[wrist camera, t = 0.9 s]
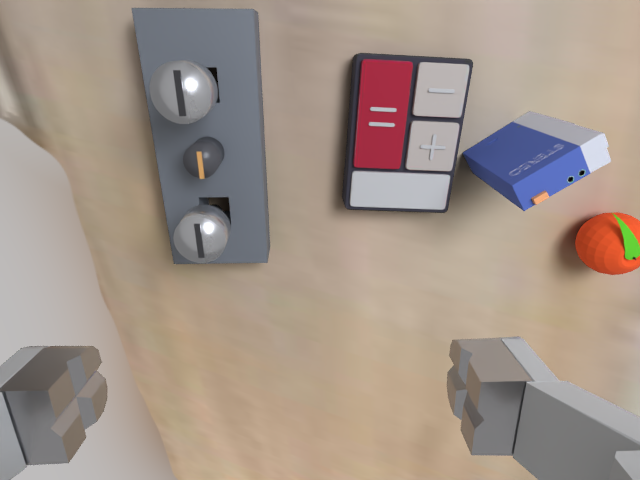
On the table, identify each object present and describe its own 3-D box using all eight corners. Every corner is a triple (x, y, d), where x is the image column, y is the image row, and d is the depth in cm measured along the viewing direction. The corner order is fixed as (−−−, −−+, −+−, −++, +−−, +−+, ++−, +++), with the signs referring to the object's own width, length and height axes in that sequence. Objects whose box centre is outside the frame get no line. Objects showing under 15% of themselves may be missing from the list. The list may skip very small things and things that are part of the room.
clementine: (555, 211, 48) (594, 236, 41) (615, 185, 47) (665, 207, 40) (568, 265, 51) (607, 297, 44) (625, 242, 50) (673, 271, 43)
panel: (148, 11, 38) (131, 7, 34) (258, 12, 38) (253, 9, 34) (183, 247, 48) (173, 263, 44) (270, 246, 48) (267, 262, 45)
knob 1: (172, 58, 36) (143, 60, 29) (223, 58, 36) (206, 61, 29) (179, 111, 37) (154, 124, 31) (228, 111, 38) (213, 124, 31)
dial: (190, 136, 39) (180, 145, 35) (223, 136, 39) (215, 144, 35) (194, 167, 40) (184, 178, 37) (226, 167, 40) (219, 178, 37)
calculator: (477, 58, 37) (450, 215, 43) (461, 60, 41) (437, 203, 47) (357, 52, 37) (345, 212, 42) (352, 54, 41) (341, 200, 46)
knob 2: (190, 191, 41) (169, 217, 34) (235, 190, 41) (222, 217, 34) (195, 231, 43) (176, 264, 36) (238, 231, 43) (227, 263, 36)
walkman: (472, 173, 45) (526, 213, 34) (462, 152, 44) (513, 186, 33) (540, 132, 44) (618, 161, 33) (530, 110, 43) (608, 131, 32)
